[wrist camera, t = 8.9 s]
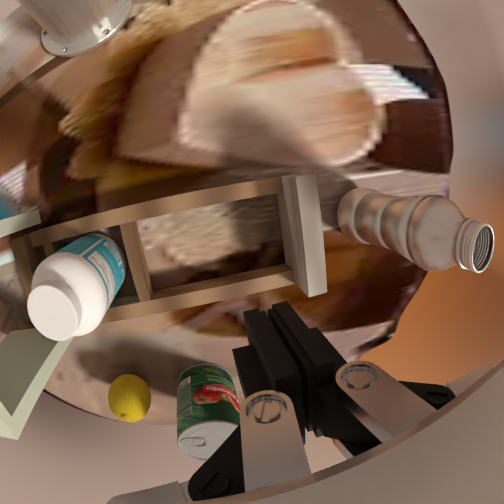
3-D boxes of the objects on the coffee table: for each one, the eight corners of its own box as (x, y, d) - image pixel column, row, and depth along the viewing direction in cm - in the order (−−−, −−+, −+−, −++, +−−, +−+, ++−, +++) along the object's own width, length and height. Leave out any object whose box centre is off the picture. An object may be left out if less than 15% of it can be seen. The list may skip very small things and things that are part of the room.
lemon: (117, 391, 34) (108, 430, 26) (111, 360, 32) (98, 399, 25) (154, 394, 35) (151, 435, 27) (151, 364, 34) (145, 405, 26)
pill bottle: (65, 279, 29) (10, 331, 16) (80, 222, 28) (18, 249, 15) (118, 303, 31) (85, 370, 18) (137, 246, 30) (103, 291, 17)
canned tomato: (237, 364, 36) (254, 422, 26) (229, 405, 38) (243, 461, 27) (177, 360, 34) (177, 420, 24) (175, 402, 36) (176, 460, 25)
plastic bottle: (330, 241, 35) (454, 302, 16) (329, 186, 33) (464, 203, 14) (372, 236, 36) (495, 283, 17) (372, 185, 34) (504, 202, 15)
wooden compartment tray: (56, 321, 29) (35, 347, 23) (28, 233, 26) (-2, 245, 20) (302, 272, 34) (327, 292, 28) (290, 174, 31) (315, 173, 25)
